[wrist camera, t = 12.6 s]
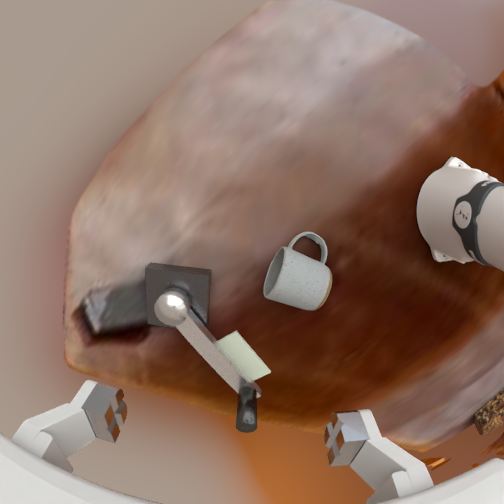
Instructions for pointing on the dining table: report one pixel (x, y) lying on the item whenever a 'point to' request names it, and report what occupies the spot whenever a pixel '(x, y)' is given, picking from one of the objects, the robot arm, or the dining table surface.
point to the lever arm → (210, 353)
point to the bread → (490, 415)
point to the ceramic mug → (299, 277)
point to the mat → (244, 355)
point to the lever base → (183, 278)
